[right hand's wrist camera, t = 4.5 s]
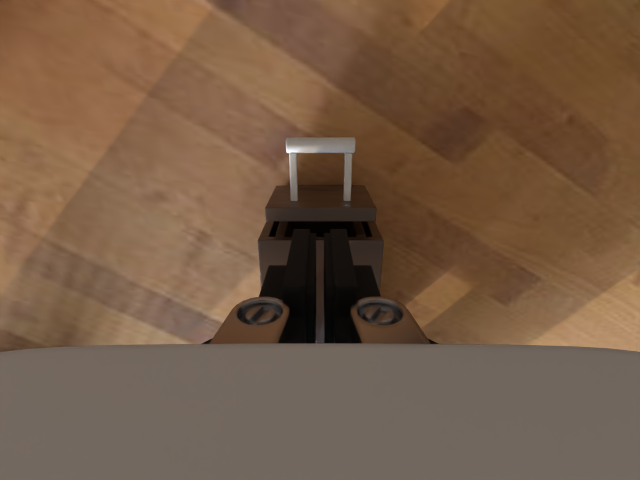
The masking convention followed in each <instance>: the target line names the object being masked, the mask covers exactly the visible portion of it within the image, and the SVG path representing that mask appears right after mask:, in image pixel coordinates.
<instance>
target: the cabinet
mask: <svg viewBox="0 0 640 480" xmlns="http://www.w3.org/2000/svg"><path fill="white" fill-rule="evenodd" d="M279 223H280V221H266V224H265V226H264V228H263V230H262V233H261V235H260V237H259V239H258V250H259V264H260V279H261V289H262V286H263V282H264V279H265V276H266V273H267V269H268V266H269V265H287V260H288V255H289V250H290V245H291V240H292V237H275V235H276V232H277V229H278V226H279ZM361 223H362V226H363V229H364V232H365V235H366V237H348V240H349V245H350V250H351V255H352V260H353V265H371V267H372V269H373V273H374V276H375V279H376V282H377V286H378V289H379V292H380V283H381V269H382V255H383V238H382V236H381V234H380V232H379V230H378V228H377V225H376V223H375V221H361ZM316 344H324V237H316Z"/></svg>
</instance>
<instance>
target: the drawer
mask: <svg viewBox="0 0 640 480" xmlns="http://www.w3.org/2000/svg"><path fill="white" fill-rule="evenodd" d="M286 151H287V153H290V154H289V163H290V186H276V188H275V190H274V192H273V194H272V196H271V197H270V199H269V201H268V203H267V205H266V207H265V216H266V221H280V223H279V226H278V229H277V232H276V235H275V237H292V235H293V230H294V229H310V233H316V237H324V233H330V229H346V230H347V235H348V237H366V235H365V232H364V229H363V226H362V223H361V221H376V207H375V205H374V203H373V201H372V199H371V197H370V195H369V193H368V191H367V189H366V188H365V186H351V174H352V153H354V152H355V138H354V137H287V138H286ZM297 153H345V155H344V186H298V183H297Z"/></svg>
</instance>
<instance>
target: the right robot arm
mask: <svg viewBox="0 0 640 480" xmlns="http://www.w3.org/2000/svg"><path fill="white" fill-rule="evenodd" d="M0 480H640V352H635V351H627V350H618V349H608V348H591V347H574V346H536V345H477V344H438V343H436V342H434V341H432V340H430V339H428V338H427V337H426V336H425V334H424V333H423V331H422V330H421V328H420V327H419V325H418V324H417V322H416V321H415V319H414V318H413V316H412V315H411V313H410V312H409V311H408V309H407V308H406V307H405V306H404V305H403V304H401V303H399V302H398V301H395V300H393V299H390V298H385V297H381V295H380V292H379V289H378V286H377V282H376V279H375V276H374V273H373V269H372V267H371V265H353V260H352V255H351V250H350V245H349V240H348V235H347V230H346V229H330V233H324V344H316V233H310V229H294V230H293V235H292V240H291V245H290V250H289V255H288V260H287V265H269V266H268V269H267V273H266V276H265V279H264V282H263V286H262V289H261V292H260V295H259V297H255V298H250V299H247V300H245V301H242V302H241V303H239V304H237V305H236V306H235V307H234V308H233V309H232V311H231V312H230V313H229V315H228V316H227V318H226V319H225V321H224V322H223V324H222V325H221V327H220V328H219V330H218V331H217V333H216V334H215V336H214V337H213V338H212V339H210V340H208V341H206V342H204V343H202V344H167V345H102V346H69V347H48V348H34V349H21V350H13V351H5V352H0Z"/></svg>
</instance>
